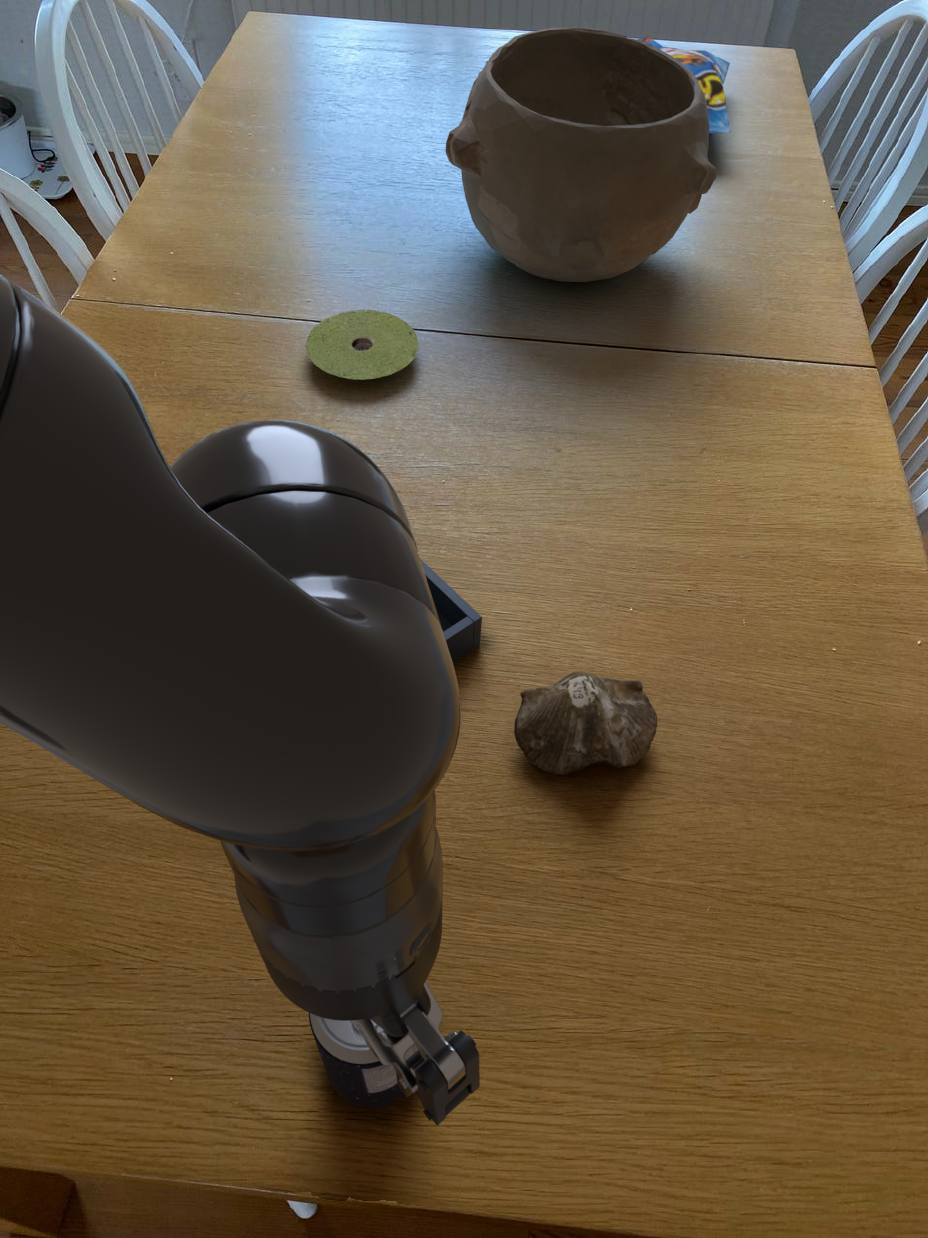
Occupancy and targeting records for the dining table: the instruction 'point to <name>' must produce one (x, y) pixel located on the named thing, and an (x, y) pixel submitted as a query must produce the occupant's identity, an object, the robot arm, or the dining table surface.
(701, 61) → the packet
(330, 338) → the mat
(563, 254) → the bowl
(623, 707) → the fossilized seashell
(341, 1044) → the beverage can
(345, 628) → the robot arm
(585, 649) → the dining table surface
